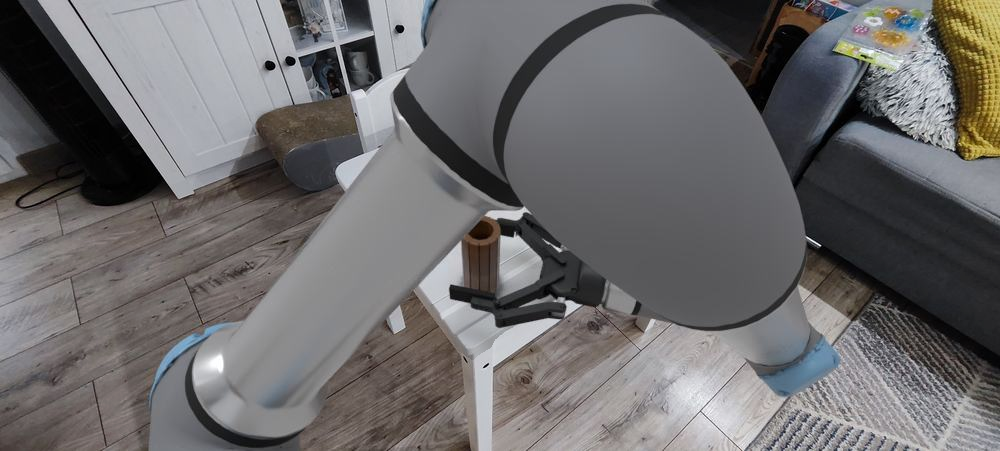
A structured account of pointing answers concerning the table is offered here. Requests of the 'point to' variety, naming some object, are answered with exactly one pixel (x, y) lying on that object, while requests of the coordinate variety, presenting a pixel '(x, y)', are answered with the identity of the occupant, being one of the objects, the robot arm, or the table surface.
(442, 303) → the table surface
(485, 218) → the brown wooden hollow cylinder
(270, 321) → the robot arm
